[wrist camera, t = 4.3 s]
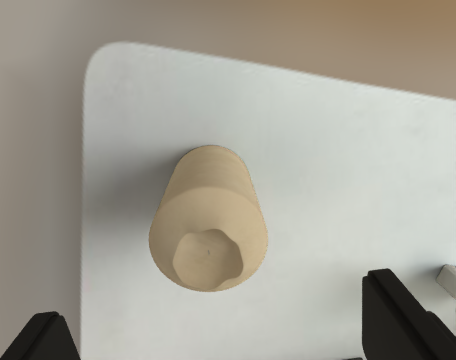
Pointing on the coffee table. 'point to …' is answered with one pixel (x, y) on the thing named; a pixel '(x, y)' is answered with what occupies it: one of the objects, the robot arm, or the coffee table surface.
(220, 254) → the candle
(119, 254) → the coffee table surface
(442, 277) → the lighter
